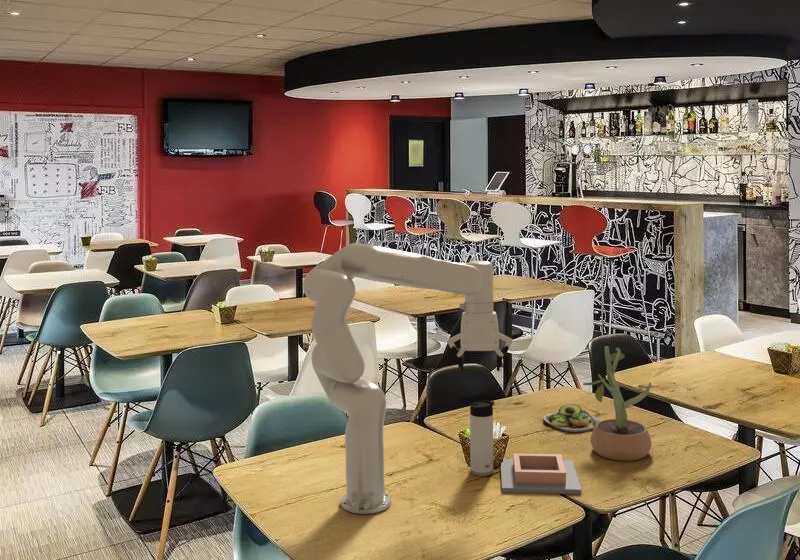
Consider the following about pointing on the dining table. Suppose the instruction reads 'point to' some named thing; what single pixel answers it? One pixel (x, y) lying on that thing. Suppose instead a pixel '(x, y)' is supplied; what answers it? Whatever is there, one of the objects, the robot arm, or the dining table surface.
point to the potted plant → (619, 420)
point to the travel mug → (481, 438)
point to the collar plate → (539, 474)
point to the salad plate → (572, 419)
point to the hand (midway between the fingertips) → (480, 370)
